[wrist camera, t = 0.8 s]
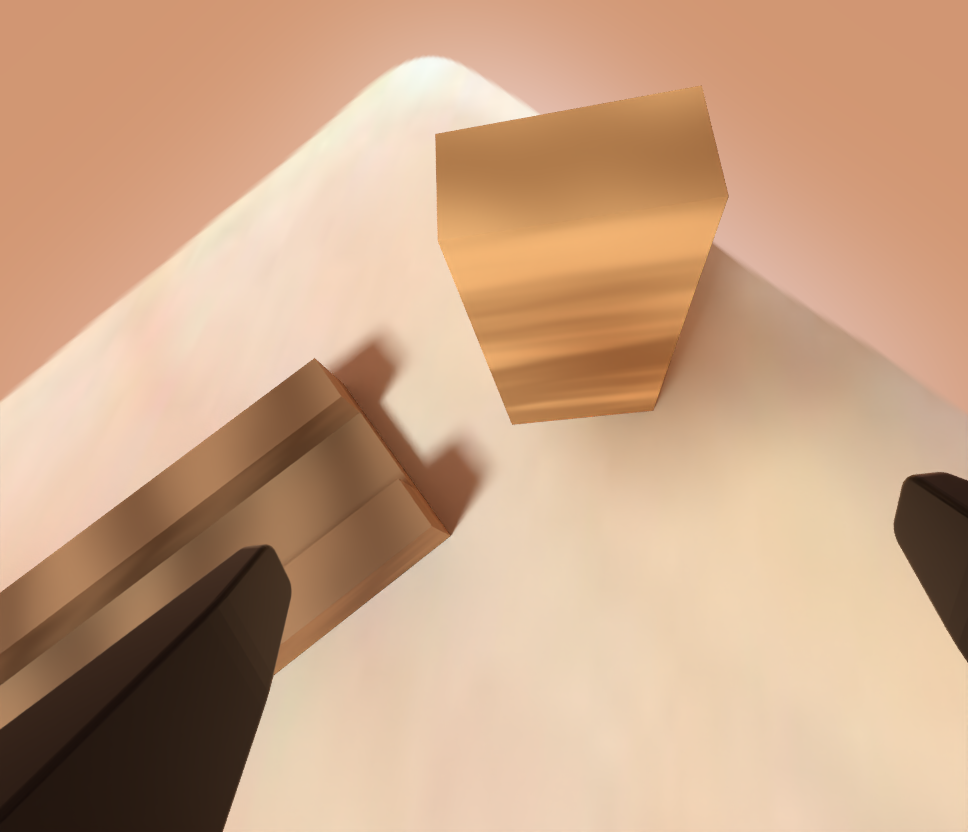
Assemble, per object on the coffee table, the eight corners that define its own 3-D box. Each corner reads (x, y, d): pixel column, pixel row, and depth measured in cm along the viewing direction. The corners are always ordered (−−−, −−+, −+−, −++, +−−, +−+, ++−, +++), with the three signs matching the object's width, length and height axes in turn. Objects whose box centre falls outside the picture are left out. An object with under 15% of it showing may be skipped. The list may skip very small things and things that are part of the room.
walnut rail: (48, 852, 21) (-32, 889, 19) (-12, 652, 25) (-88, 658, 22) (450, 536, 23) (431, 526, 20) (343, 384, 26) (314, 358, 23)
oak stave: (652, 410, 23) (728, 196, 11) (512, 424, 24) (437, 241, 12) (642, 346, 24) (701, 85, 12) (508, 362, 25) (435, 134, 13)
